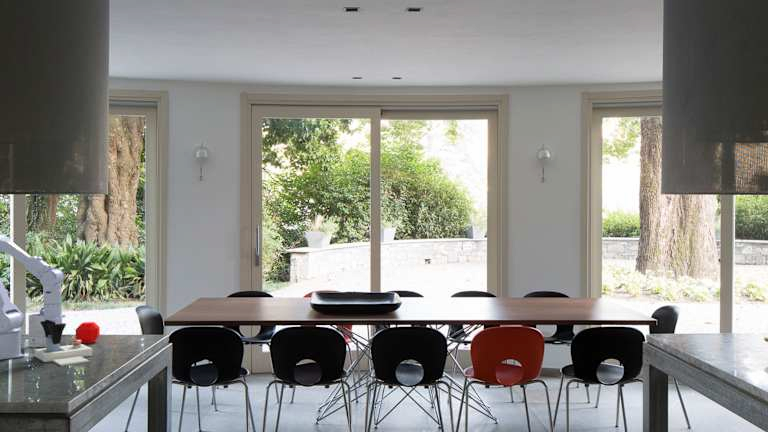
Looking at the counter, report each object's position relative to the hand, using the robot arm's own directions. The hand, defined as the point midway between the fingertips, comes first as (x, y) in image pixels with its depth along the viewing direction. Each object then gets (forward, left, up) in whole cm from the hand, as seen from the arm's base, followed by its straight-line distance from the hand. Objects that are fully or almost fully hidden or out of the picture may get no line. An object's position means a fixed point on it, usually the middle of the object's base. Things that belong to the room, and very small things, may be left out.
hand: (53, 342), depth 254 cm
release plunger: (+8, 0, -5) cm, 9 cm away
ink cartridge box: (+3, +24, -6) cm, 25 cm away
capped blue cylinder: (0, 0, -5) cm, 5 cm away
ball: (+18, +21, -6) cm, 29 cm away
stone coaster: (+2, -11, -5) cm, 13 cm away
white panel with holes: (+3, 0, -5) cm, 6 cm away
